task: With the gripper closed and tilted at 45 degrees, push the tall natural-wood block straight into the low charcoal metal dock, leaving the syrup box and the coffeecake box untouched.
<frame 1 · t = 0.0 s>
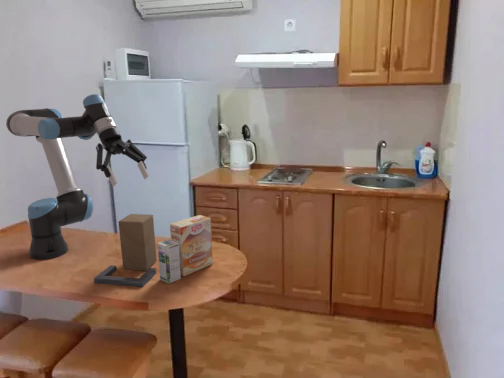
hand: (131, 180, 154), 36 cm above the table, tool tilted 35°, fingers open, 13 cm apart
syrup box: (170, 279, 155), on the table
wooden block: (140, 265, 168), on the table
coffeecake box: (193, 268, 165), on the table
dock: (128, 276, 159), on the table
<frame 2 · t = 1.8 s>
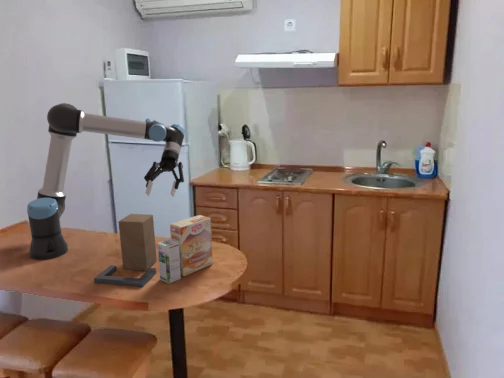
hand: (159, 194, 184), 23 cm above the table, tool tilted 45°, fingers open, 11 cm apart
nothing on the table moved.
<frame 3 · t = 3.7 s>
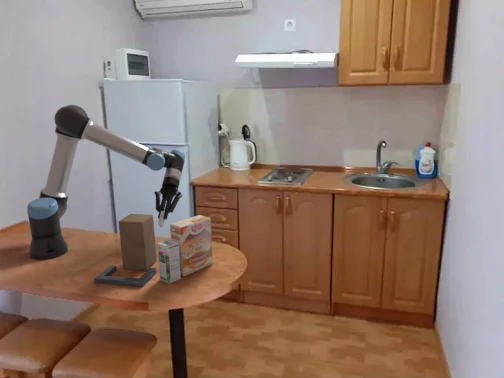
hand: (160, 225, 184), 10 cm above the table, tool tilted 45°, fingers closed
nothing on the table moved.
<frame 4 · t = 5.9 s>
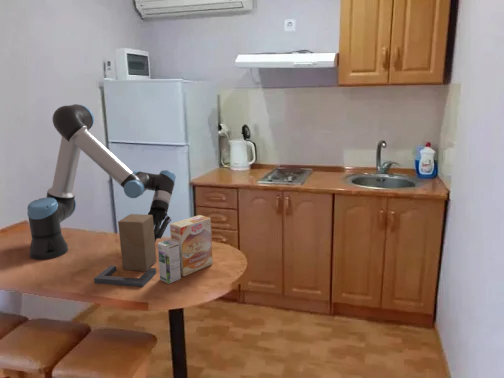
hand: (147, 253, 173), 3 cm above the table, tool tilted 45°, fingers closed
wooden block: (140, 266, 168), on the table, touching gripper
everything else where it was.
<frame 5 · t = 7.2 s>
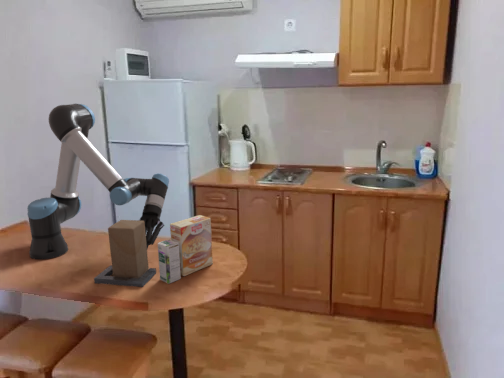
hand: (139, 260, 166), 3 cm above the table, tool tilted 45°, fingers closed
wooden block: (131, 274, 161), on the table, touching gripper
everything else where it was.
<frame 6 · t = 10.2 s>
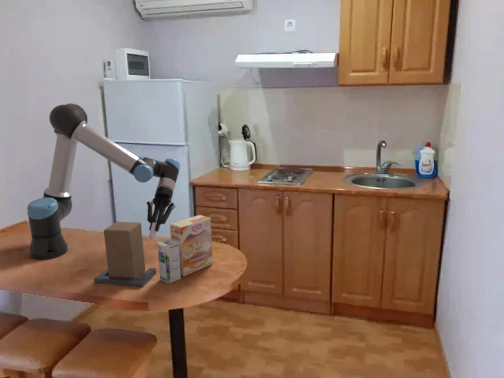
hand: (151, 237, 177), 8 cm above the table, tool tilted 45°, fingers closed
wooden block: (127, 276, 159), on the table
everything else where it was.
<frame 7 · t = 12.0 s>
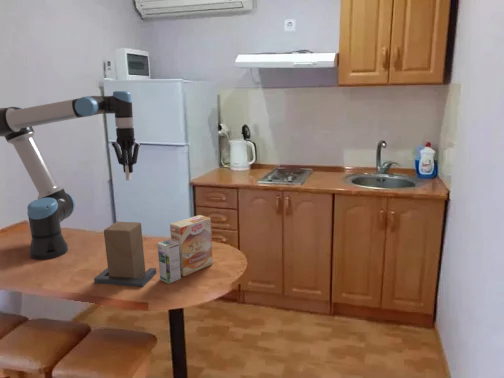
hand: (128, 179, 189), 29 cm above the table, tool pointing down, fingers closed
nothing on the table moved.
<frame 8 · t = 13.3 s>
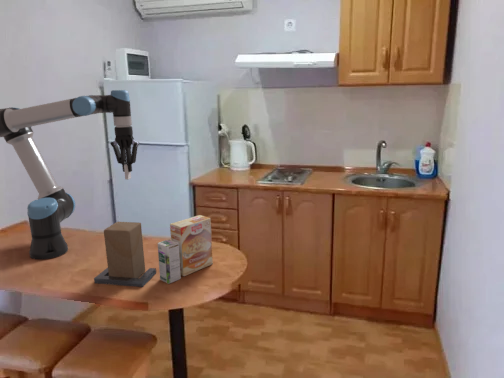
hand: (128, 178, 189), 29 cm above the table, tool pointing down, fingers closed
nothing on the table moved.
at the end: wooden block inside the target area (0.8 cm from its centre), on the table; wooden block tilted 0°; syrup box moved 0.2 cm from its start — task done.
